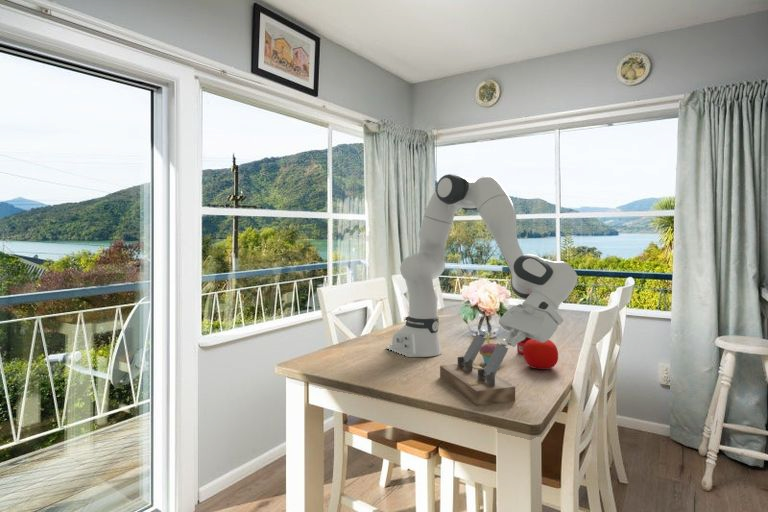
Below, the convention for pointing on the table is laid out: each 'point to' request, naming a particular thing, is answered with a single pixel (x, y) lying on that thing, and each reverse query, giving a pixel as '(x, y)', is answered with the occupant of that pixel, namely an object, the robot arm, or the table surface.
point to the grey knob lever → (474, 347)
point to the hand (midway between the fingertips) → (509, 344)
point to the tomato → (540, 354)
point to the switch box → (477, 383)
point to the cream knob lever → (496, 358)
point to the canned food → (521, 345)
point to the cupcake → (487, 350)
